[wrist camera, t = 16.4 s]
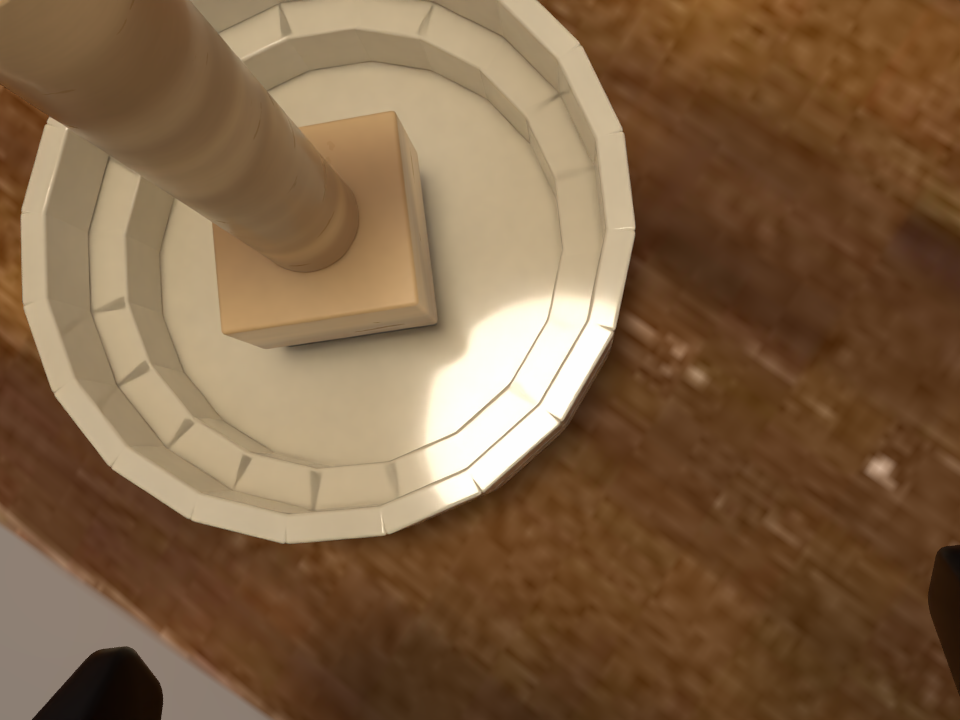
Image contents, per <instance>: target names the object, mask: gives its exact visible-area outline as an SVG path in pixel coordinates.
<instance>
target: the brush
mask: <svg viewBox="0 0 960 720" xmlns="http://www.w3.org/2000/svg"><path fill="white" fill-rule="evenodd" d="M0 84H1V85H2V86H4V87H5V88H7V89H9V90H10V91H12V92H13V93H15V94H16V95H18V96H19V97H21V98H22V99H24V100H25V101H27V102H28V103H30V104H32V105H33V106H35V107H36V108H38V109H39V110H41V111H42V112H44V113H45V114H47V115H48V116H50V117H51V118H53V119H55V120H56V121H58V122H59V123H61V124H62V125H64V126H65V127H67V128H68V129H70V130H71V131H73V132H75V133H76V134H78V135H79V136H81V137H82V138H84V139H85V140H87V141H88V142H90V143H91V144H93V145H94V146H96V147H98V148H99V149H101V150H102V151H104V152H105V153H107V154H108V155H110V156H111V157H113V158H114V159H116V160H118V161H119V162H121V163H122V164H124V165H125V166H127V167H128V168H130V169H131V170H133V171H134V172H136V173H137V174H139V175H141V176H142V177H144V178H145V179H147V180H148V181H150V182H151V183H153V184H154V185H156V186H157V187H159V188H161V189H162V190H164V191H165V192H167V193H168V194H170V195H171V196H173V197H174V198H176V199H177V200H179V201H180V202H182V203H184V204H185V205H187V206H188V207H190V208H191V209H193V210H194V211H196V212H197V213H199V214H200V215H202V216H203V217H205V218H207V219H208V220H210V221H211V222H212V229H213V241H214V252H215V264H216V275H217V286H218V298H219V309H220V321H221V331H222V333H223V334H224V335H227V336H229V337H232V338H235V339H238V340H240V341H243V342H246V343H249V344H252V345H254V346H257V347H260V348H263V349H272V348H278V347H285V346H288V347H294V346H301V345H308V344H314V343H321V342H328V341H334V340H341V339H348V338H354V337H361V336H368V335H374V334H381V333H388V332H395V331H401V330H408V329H415V328H421V327H428V326H435V325H437V320H438V317H437V309H436V301H435V293H434V285H433V277H432V269H431V261H430V252H429V244H428V236H427V228H426V220H425V212H424V204H423V196H422V188H421V180H420V172H419V164H418V155H417V152H416V150H415V148H414V146H413V144H412V142H411V140H410V138H409V137H408V135H407V133H406V131H405V129H404V127H403V125H402V123H401V122H400V120H399V118H398V116H397V114H396V112H395V111H387V112H381V113H375V114H370V115H364V116H358V117H353V118H347V119H341V120H336V121H330V122H325V123H319V124H313V125H308V126H302V127H297V126H296V125H295V123H294V122H293V121H292V120H291V119H290V117H289V116H288V115H287V114H286V113H285V112H284V110H283V109H282V108H281V107H280V106H279V104H278V103H277V102H276V101H275V100H274V99H273V97H272V96H271V95H270V94H269V93H268V92H267V90H266V89H265V88H264V87H263V86H262V84H261V83H260V82H259V81H258V80H257V79H256V77H255V76H254V75H253V74H252V73H251V71H250V70H249V69H248V68H247V67H246V66H245V64H244V63H243V62H242V61H241V60H240V58H239V57H238V56H237V55H236V54H235V53H234V51H233V50H232V49H231V48H230V47H229V46H228V44H227V43H226V42H225V41H224V40H223V38H222V37H221V36H220V35H219V34H218V33H217V31H216V30H215V29H214V28H213V27H212V25H211V24H210V23H209V22H208V21H207V20H206V18H205V17H204V16H203V15H202V14H201V13H200V11H199V10H198V9H197V8H196V7H195V5H194V4H193V3H192V2H191V1H190V0H0Z"/></svg>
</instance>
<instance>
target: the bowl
mask: <svg viewBox="0 0 960 720" xmlns="http://www.w3.org/2000/svg"><path fill="white" fill-rule="evenodd" d="M190 1H191V2H192V3H193V4H194V5H195V7H196V8H197V9H198V10H199V11H200V13H201V14H202V15H203V16H204V17H205V18H206V20H207V21H208V22H209V23H210V24H211V25H212V27H213V28H214V29H215V30H216V31H217V33H218V34H219V35H220V36H221V37H222V38H223V40H224V41H225V42H226V43H227V44H228V46H229V47H230V48H231V49H232V50H233V51H234V53H235V54H236V55H237V56H238V57H239V58H240V60H241V61H242V62H243V63H244V64H245V66H246V67H247V68H248V69H249V70H250V71H251V73H252V74H253V75H254V76H255V77H256V79H257V80H258V81H259V82H260V83H261V84H262V86H263V87H264V88H265V89H266V90H267V92H268V93H269V94H270V95H271V96H272V97H273V99H274V100H275V101H276V102H277V103H278V104H279V106H280V107H281V108H282V109H283V110H284V112H285V113H286V114H287V115H288V116H289V117H290V119H291V120H292V121H293V122H294V123H295V125H296V126H297V127H302V126H308V125H313V124H319V123H325V122H330V121H336V120H341V119H347V118H353V117H358V116H364V115H370V114H375V113H381V112H387V111H395V112H396V114H397V116H398V118H399V120H400V122H401V123H402V125H403V127H404V129H405V131H406V133H407V135H408V137H409V138H410V140H411V142H412V144H413V146H414V148H415V150H416V152H417V155H418V164H419V172H420V180H421V188H422V196H423V204H424V212H425V220H426V228H427V236H428V244H429V252H430V261H431V269H432V277H433V285H434V293H435V301H436V309H437V317H438V320H437V325H435V326H428V327H421V328H415V329H408V330H401V331H395V332H388V333H381V334H374V335H368V336H361V337H354V338H348V339H341V340H334V341H328V342H321V343H314V344H308V345H301V346H294V347H288V346H285V347H278V348H272V349H263V348H260V347H257V346H254V345H252V344H249V343H246V342H243V341H240V340H238V339H235V338H232V337H229V336H227V335H224V334H223V333H222V331H221V321H220V309H219V298H218V286H217V275H216V264H215V252H214V241H213V229H212V222H211V221H210V220H208V219H207V218H205V217H203V216H202V215H200V214H199V213H197V212H196V211H194V210H193V209H191V208H190V207H188V206H187V205H185V204H184V203H182V202H180V201H179V200H177V199H176V198H174V197H173V196H171V195H170V194H168V193H167V192H165V191H164V190H162V189H161V188H159V187H157V186H156V185H154V184H153V183H151V182H150V181H148V180H147V179H145V178H144V177H142V176H141V175H139V174H137V173H136V172H134V171H133V170H131V169H130V168H128V167H127V166H125V165H124V164H122V163H121V162H119V161H118V160H116V159H114V158H113V157H111V156H110V155H108V154H107V153H105V152H104V151H102V150H101V149H99V148H98V147H96V146H94V145H93V144H91V143H90V142H88V141H87V140H85V139H84V138H82V137H81V136H79V135H78V134H76V133H75V132H73V131H71V130H70V129H68V128H67V127H65V126H64V125H62V124H61V123H59V122H58V121H56V120H55V119H53V118H51V117H49V118H48V120H47V123H48V124H46V125H45V127H44V130H43V134H42V138H41V141H40V145H39V148H38V152H37V155H36V159H35V163H34V166H33V170H32V173H31V177H30V180H29V184H28V188H27V191H26V195H25V198H24V202H23V205H22V209H21V212H22V214H21V259H22V302H23V305H25V306H24V311H25V314H26V317H27V320H28V323H29V326H30V329H31V332H32V335H33V337H34V340H35V343H36V346H37V349H38V352H39V355H40V358H41V361H42V364H43V367H44V369H45V372H46V375H47V378H48V381H49V384H50V387H51V390H52V391H53V392H54V395H55V397H56V398H57V400H58V401H59V402H60V403H61V405H62V406H63V407H64V409H65V410H66V411H67V413H68V414H69V415H70V416H71V418H72V419H73V420H74V422H75V423H76V424H77V426H78V427H79V428H80V429H81V431H82V432H83V433H84V435H85V436H86V437H87V439H88V440H89V441H90V442H91V444H92V445H93V446H94V448H95V449H96V450H97V452H98V453H99V454H100V455H101V457H102V458H103V459H104V461H105V462H106V463H107V465H108V466H110V467H111V468H112V469H113V470H114V471H115V472H117V473H118V474H120V475H121V476H123V477H125V478H126V479H128V480H129V481H131V482H132V483H134V484H135V485H137V486H138V487H140V488H141V489H143V490H144V491H146V492H147V493H149V494H150V495H152V496H153V497H155V498H156V499H158V500H160V501H161V502H163V503H164V504H166V505H167V506H169V507H170V508H172V509H173V510H175V511H176V512H178V513H179V514H181V515H182V516H184V517H185V518H187V519H191V520H192V521H193V522H197V523H201V524H205V525H209V526H213V527H217V528H221V529H225V530H229V531H233V532H237V533H241V534H245V535H249V536H253V537H257V538H261V539H265V540H269V541H273V542H277V543H281V544H285V543H287V544H298V543H309V542H321V541H332V540H344V539H355V538H367V537H378V536H385V535H388V534H393V533H395V532H398V531H401V530H403V529H406V528H409V527H412V526H414V525H417V524H420V523H422V522H425V521H427V520H429V519H431V518H434V517H436V516H438V515H441V514H443V513H445V512H447V511H450V510H452V509H454V508H457V507H459V506H461V505H464V504H466V503H468V502H470V501H473V500H475V499H477V498H480V497H482V496H484V495H486V494H489V493H491V492H493V491H496V490H497V489H498V488H499V487H502V486H503V485H504V484H505V483H506V482H508V481H509V480H510V479H511V478H512V477H513V476H514V475H515V474H516V473H518V472H519V471H520V470H521V469H522V468H523V467H524V466H525V465H527V464H528V463H529V462H530V461H531V460H532V459H533V458H534V457H535V456H537V455H538V454H539V453H540V452H541V451H542V450H543V449H544V448H546V447H547V446H548V445H549V444H550V443H551V442H552V441H553V440H555V439H556V438H557V437H558V436H559V435H560V434H561V433H562V432H563V431H564V429H566V428H567V426H568V425H569V423H570V421H571V419H572V418H573V416H574V414H575V413H576V411H577V409H578V407H579V406H580V404H581V402H582V400H583V399H584V397H585V395H586V394H587V392H588V390H589V388H590V387H591V385H592V383H593V381H594V380H595V378H596V376H597V375H598V373H599V371H600V369H601V368H602V366H603V364H604V362H605V361H606V359H607V357H608V356H609V352H610V351H611V346H612V342H613V338H614V334H615V330H616V325H617V321H618V316H619V311H620V306H621V301H622V297H623V292H624V287H625V282H626V277H627V273H628V268H629V263H630V258H631V253H632V249H633V244H634V239H635V229H636V224H635V216H634V208H633V200H632V192H631V183H630V175H629V167H628V159H627V150H626V142H625V135H624V133H623V128H622V126H621V124H620V122H619V120H618V118H617V116H616V114H615V112H614V110H613V107H612V105H611V103H610V101H609V99H608V97H607V95H606V93H605V91H604V89H603V87H602V85H601V83H600V81H599V79H598V77H597V75H596V73H595V71H594V69H593V67H592V65H591V62H590V60H589V58H588V56H587V54H586V52H585V50H584V48H583V47H582V46H581V45H580V43H579V41H578V40H577V39H576V38H575V37H574V36H573V35H572V34H571V33H570V32H569V31H568V30H567V29H566V28H565V27H564V26H563V25H562V24H561V23H560V22H559V21H558V20H557V19H556V18H555V17H554V16H553V15H552V14H550V13H549V12H548V11H547V10H546V9H545V8H544V7H543V6H542V5H541V4H540V3H539V2H538V1H537V0H190Z"/></svg>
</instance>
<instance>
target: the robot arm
mask: <svg viewBox="0 0 960 720" xmlns="http://www.w3.org/2000/svg"><path fill="white" fill-rule="evenodd" d="M928 604H929V610H930V614H931V617H932V620H933V623H934V626H935V629H936V631H937V634H938V637H939V640H940V643H941V645H942V648H943V651H944V654H945V657H946V659H947V662H948V665H949V668H950V671H951V673H952V676H953V679H954V682H955V685H956V687H957V690H958V693H959V696H960V545H955V546H946V547H942V548H941V549H940V550H939V551H938V552H937V555H936V558H935V563H934V568H933V572H932V577H931V582H930V587H929V592H928ZM162 707H163V694H162V688H161V686H160V683H159V681H158V680H157V678H156V677H155V676H154V675H153V673H152V672H151V671H150V669H149V668H148V667H147V665H146V664H145V663H144V662H143V660H142V659H141V658H140V656H139V655H138V654H137V652H136V651H135V650H134V649H132V648H130V647H116V648H109V649H101V650H98V651H96V652H94V653H93V654H91V655H90V656H89V657H88V658H87V659H86V660H85V661H84V662H83V663H82V664H81V665H80V667H79V668H78V669H77V670H76V671H75V672H74V673H73V674H72V676H71V677H70V678H69V679H68V680H67V681H66V682H65V683H64V685H63V686H62V687H61V688H60V689H59V690H58V691H57V692H56V693H55V694H54V696H53V697H52V698H51V699H50V700H49V701H48V702H47V704H46V705H45V706H44V707H43V708H42V709H41V710H40V711H39V712H38V713H37V715H36V716H35V717H34V718H33V719H32V720H161V714H162Z"/></svg>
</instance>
